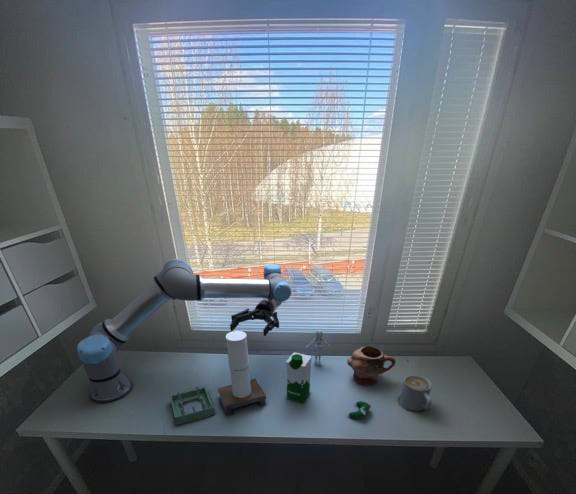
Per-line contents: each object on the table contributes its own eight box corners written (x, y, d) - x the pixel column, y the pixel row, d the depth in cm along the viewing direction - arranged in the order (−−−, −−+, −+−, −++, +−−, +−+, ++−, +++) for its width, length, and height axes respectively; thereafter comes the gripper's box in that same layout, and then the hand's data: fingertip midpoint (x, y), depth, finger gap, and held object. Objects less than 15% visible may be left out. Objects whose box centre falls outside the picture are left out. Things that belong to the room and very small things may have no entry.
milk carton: (283, 399, 130) (283, 357, 119) (293, 386, 137) (293, 346, 126) (304, 405, 127) (305, 363, 116) (312, 392, 134) (314, 351, 123)
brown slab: (219, 397, 131) (217, 388, 128) (256, 387, 136) (255, 378, 134) (226, 416, 122) (225, 406, 119) (266, 405, 127) (265, 395, 124)
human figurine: (329, 362, 152) (332, 328, 142) (330, 366, 149) (333, 332, 139) (304, 362, 152) (305, 328, 142) (304, 367, 149) (305, 332, 139)
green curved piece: (353, 423, 121) (365, 418, 117) (347, 415, 121) (359, 410, 117) (361, 409, 128) (373, 404, 124) (356, 401, 127) (368, 396, 123)
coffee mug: (395, 395, 132) (399, 375, 126) (418, 393, 133) (423, 373, 127) (409, 418, 121) (415, 397, 115) (434, 415, 122) (441, 395, 116)
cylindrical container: (247, 399, 123) (241, 341, 108) (229, 396, 124) (222, 339, 110) (253, 388, 128) (249, 332, 114) (236, 385, 130) (230, 329, 116)
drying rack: (171, 402, 129) (167, 388, 125) (206, 393, 133) (204, 379, 130) (176, 425, 118) (172, 410, 114) (214, 414, 123) (212, 400, 119)
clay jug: (386, 370, 147) (392, 343, 139) (395, 386, 137) (401, 359, 129) (343, 371, 146) (346, 344, 138) (348, 387, 136) (351, 360, 128)
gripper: (293, 319, 139) (278, 343, 122) (240, 312, 145) (218, 334, 128) (293, 303, 135) (278, 325, 118) (238, 297, 140) (216, 317, 124)
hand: (247, 330), depth 123 cm, fingers open, 13 cm apart
